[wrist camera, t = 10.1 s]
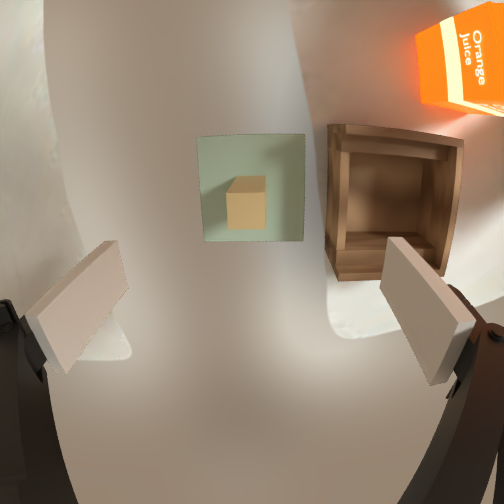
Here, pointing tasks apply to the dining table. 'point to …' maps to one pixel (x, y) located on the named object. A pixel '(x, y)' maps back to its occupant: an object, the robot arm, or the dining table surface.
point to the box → (389, 196)
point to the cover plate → (253, 162)
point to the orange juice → (464, 61)
